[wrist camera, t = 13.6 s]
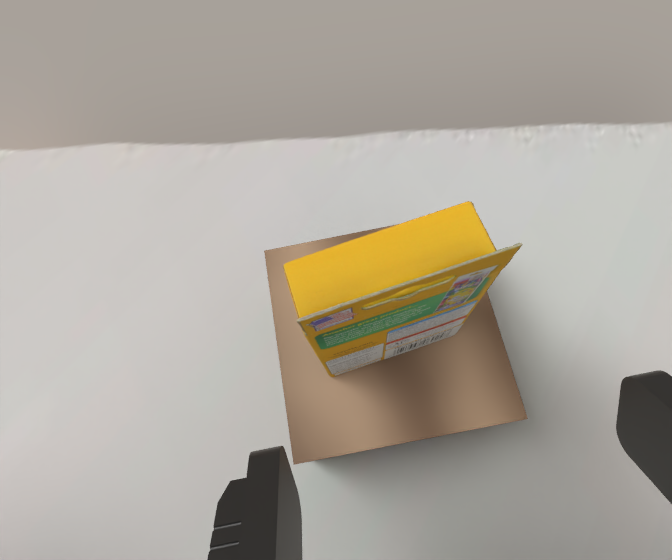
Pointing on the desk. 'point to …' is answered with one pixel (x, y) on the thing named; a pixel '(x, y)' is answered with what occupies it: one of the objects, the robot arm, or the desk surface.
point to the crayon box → (394, 287)
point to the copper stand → (388, 380)
